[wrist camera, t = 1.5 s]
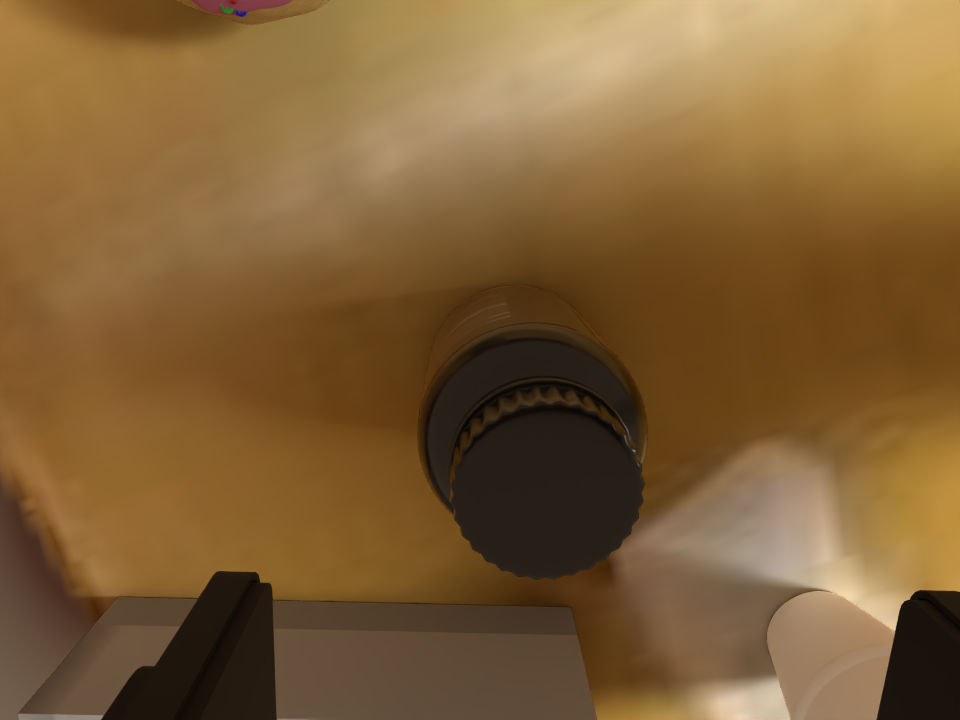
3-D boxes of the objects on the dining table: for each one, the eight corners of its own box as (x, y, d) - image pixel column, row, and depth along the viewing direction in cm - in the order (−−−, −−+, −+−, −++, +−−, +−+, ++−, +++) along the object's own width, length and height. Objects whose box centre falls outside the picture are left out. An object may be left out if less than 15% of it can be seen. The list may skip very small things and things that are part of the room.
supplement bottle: (435, 448, 29) (410, 623, 18) (424, 286, 28) (389, 361, 16) (599, 441, 29) (682, 610, 18) (598, 278, 28) (690, 347, 16)
